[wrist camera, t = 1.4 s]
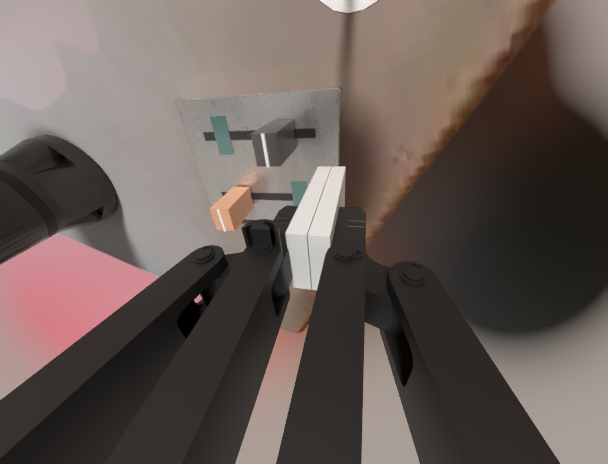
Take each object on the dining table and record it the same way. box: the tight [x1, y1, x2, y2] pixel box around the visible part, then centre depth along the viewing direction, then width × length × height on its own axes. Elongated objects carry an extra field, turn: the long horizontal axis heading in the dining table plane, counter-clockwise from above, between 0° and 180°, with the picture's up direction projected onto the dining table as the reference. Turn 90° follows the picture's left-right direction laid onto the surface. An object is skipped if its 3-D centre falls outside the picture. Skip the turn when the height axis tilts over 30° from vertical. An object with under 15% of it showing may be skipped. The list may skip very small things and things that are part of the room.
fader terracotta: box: [210, 187, 254, 231], centre depth 30 cm, size 2×3×6 cm
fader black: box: [251, 120, 296, 167], centre depth 24 cm, size 2×3×6 cm
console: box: [175, 87, 341, 220], centre depth 30 cm, size 19×16×2 cm
